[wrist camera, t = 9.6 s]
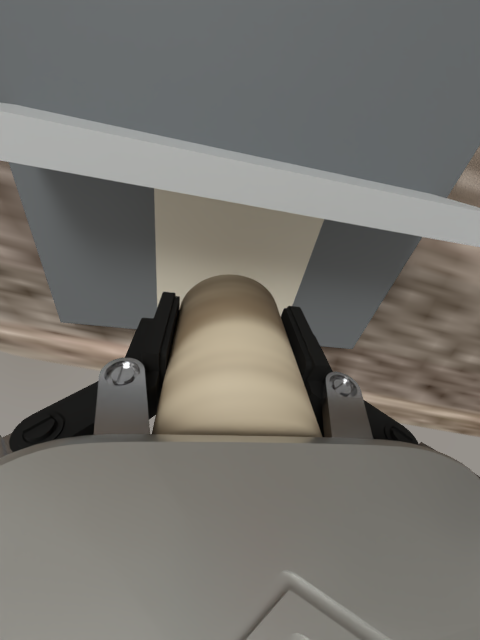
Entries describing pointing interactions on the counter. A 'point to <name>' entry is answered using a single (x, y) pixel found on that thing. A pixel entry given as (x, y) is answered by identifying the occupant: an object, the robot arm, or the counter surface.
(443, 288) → the counter surface
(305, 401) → the birch cylinder
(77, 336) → the counter surface
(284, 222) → the fence board
